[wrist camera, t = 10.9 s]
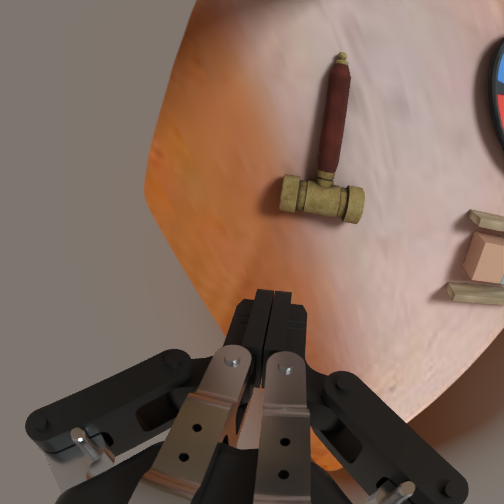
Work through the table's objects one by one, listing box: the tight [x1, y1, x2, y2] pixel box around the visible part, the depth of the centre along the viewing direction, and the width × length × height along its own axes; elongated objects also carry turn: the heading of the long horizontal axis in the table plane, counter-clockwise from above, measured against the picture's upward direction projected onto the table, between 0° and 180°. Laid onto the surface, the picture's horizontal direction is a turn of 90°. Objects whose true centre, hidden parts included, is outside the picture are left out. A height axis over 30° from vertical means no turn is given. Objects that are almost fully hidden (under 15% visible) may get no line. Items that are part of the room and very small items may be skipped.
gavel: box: [279, 52, 365, 224], centre depth 34 cm, size 21×5×10 cm
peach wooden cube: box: [462, 231, 504, 284], centre depth 37 cm, size 6×6×4 cm
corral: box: [445, 209, 504, 305], centre depth 36 cm, size 13×16×4 cm
